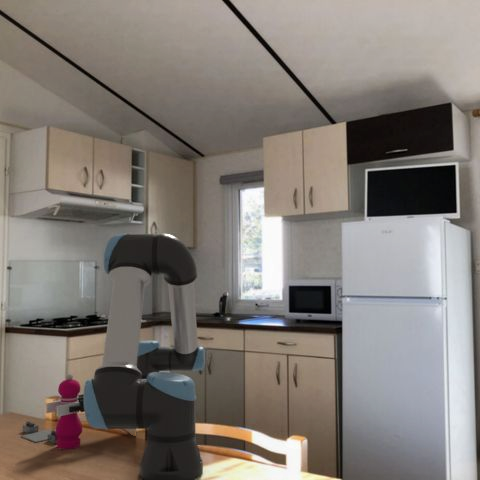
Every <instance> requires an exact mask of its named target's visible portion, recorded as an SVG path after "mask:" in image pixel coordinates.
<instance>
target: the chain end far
mask: <svg viewBox="0 0 480 480" xmlns="http://www.w3.org/2000/svg"><path fill="white" fill-rule="evenodd" d="M39 427H40V426H39V425H38V424H36V422H32V421H26V423H25V424H22V432H23V433H25V434H26V435H27V434H32V433H36V432H39Z"/></svg>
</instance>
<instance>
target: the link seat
mask: <svg viewBox="0 0 480 480" xmlns="http://www.w3.org/2000/svg"><path fill="white" fill-rule="evenodd" d="M52 430H53V429H46V430H43V431H42V430H41V431H38V432H36V433H32V434H27V433H26V434H23V435H21V436H20V437H21V438H22V439H25V440H27V441H30V442H33V443H36V444H37V443H40V442H41V443H42V442H45V441H48V434H50V433H51V431H52Z"/></svg>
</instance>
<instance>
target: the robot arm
mask: <svg viewBox="0 0 480 480" xmlns="http://www.w3.org/2000/svg"><path fill="white" fill-rule="evenodd" d="M105 246H106V247H105V251H104V256H103V257H104V258H103V269H104V271H105V272H104V273H106V274H107V275H108V279H109V280H110V281H111V282H112V290H111V291H112V292H111V298H110V305H109V312H108V320H107V321H108V322H107V328H106V333H105V335H106V336H105V342H104V343H105V344H104V349H103V356H102V364H101V365H100V366H98V367H97V368H96V369H95V371H94V375H93V378H90V379H87V380H86V381H85V384H84V387H83V393H82V394H78V395H77V396H78V397H79V398H78V400H79V401H78V402H75V403H70V404H64V405H62V403H60V399H59V400H53V401H50V402H45V414H50V413H55V412H56V417H60V416H63V415H68V414H73V413H77V414H78V413H84V415H85V419H86V421H87V423H88V425H89V427H91V428H92V429H96V430H97V429H98V430H99V429H100V430H107V431H109V430H133V429H134V430H142V429H143V430H146V432H147V433H146V437H147V438H146V443H145V447H144V451H143V455H142V458H141V461H140V463H139V477H140V478H141V479H142V480H194V479H197V478H198V477H200V476H201V475H202V474H203V473H204V471H203V470H204V463H203V458H202V457H201V453H200V452H201V451H200V449H199V446H198V443H197V438H196V435H197V434H196V400H197V396H196V385H195V382H194V380H193V378H191V377H189V376H188V375H184V374H180V373H177V372H197V371H203V370H204V368H205V365H206V350H205V347H203V346H199V345H198V331H197V330H198V328H197V312H196V295H195V281H196V280H197V278H198V271H197V263H196V261H195V259H194V257H193V255H192V253H191V250H189V248H188V247H187V246H186V244H184V242H182V241H181V240H180V239H179V238H178V237H176V236H174V235H172V234H168V233H163V232H162V233H135V234H134V233H133V234H132V233H131V234H130V233H123V234H122V233H121V234H114V235H112V236H111V237H110V238H109V240H108V241H107V243H106V245H105ZM152 275H154V276H155V275H163V280H164V282H165V283H166V284H167V285H168V286H167V287H168V296H169V308H170V309H169V310H170V319H171V331H172V339H173V346H161V345H160V341H158V340H153V339H152V340H141V341H140V335H141V328H142V319H143V318H142V316H143V309H144V297H145V290H146V289H145V287H146V286H148V285H149V284H150V283H151V280H152ZM174 371H176V373H175V372H174Z"/></svg>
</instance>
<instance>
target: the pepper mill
mask: <svg viewBox="0 0 480 480" xmlns="http://www.w3.org/2000/svg"><path fill="white" fill-rule="evenodd" d="M65 378H66V379H65V380H62V381H61V382H60V383H59V385H58V389H57V390H58V392H57V393H58V394H59V396H61V397H59V398H60V399H59V400H60V403H62V405H64V404H70V403H75V402H78V401H79V400H78V398H79V397H78V396H77V395H80V394H79V393H80V392H81V390H82V389H81V385H80V382H79V381H78V380H76V379H74V375H73V374H71V373H68V374H67V375H66V377H65ZM80 419H81V418H80V417H79V415H78V412H77V413H73V414H68V415H63V416H59V419H58V421H57V423H56V426H55V430H56V431H55V433H56V435H57V437H58V438H59V440H57V443H56V448H58V449H59V450H72V449H73V450H74V449H76V448H78V447H80V446H81V438H80V436H81V434H82V433H83V425H82V422H81V420H80Z"/></svg>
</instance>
